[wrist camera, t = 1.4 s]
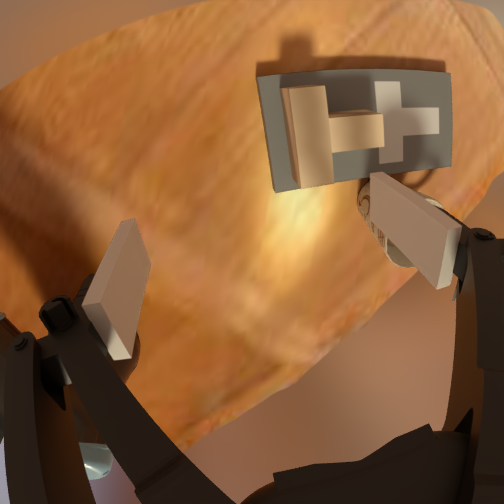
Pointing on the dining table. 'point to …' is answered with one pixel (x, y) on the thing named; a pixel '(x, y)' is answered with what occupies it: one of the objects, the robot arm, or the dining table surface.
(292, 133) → the t block
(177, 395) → the dining table surface
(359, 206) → the mug
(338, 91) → the board
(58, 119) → the dining table surface
